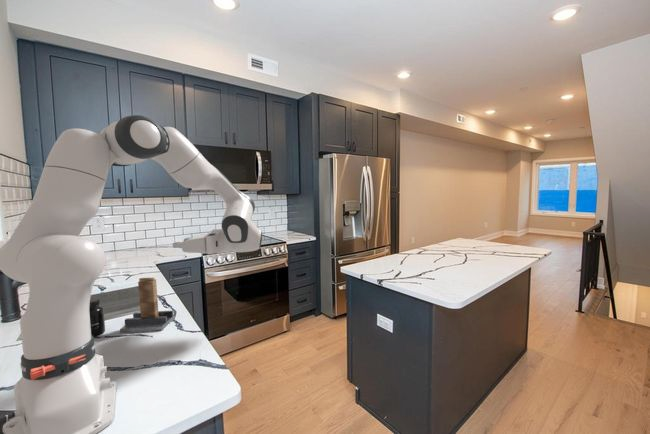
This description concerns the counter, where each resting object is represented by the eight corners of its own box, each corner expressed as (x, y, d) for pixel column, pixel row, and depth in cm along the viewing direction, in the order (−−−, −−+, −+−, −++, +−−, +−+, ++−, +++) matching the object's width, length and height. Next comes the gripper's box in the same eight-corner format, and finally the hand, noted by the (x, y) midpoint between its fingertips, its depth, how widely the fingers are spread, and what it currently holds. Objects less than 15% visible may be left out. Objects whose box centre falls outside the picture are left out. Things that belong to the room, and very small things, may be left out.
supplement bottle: (91, 340, 95) (88, 305, 94) (74, 338, 96) (71, 303, 96) (110, 330, 102) (107, 297, 101) (94, 329, 103) (92, 296, 102)
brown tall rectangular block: (158, 318, 107) (155, 276, 106) (155, 321, 105) (152, 278, 104) (144, 319, 107) (141, 277, 106) (141, 322, 105) (137, 279, 103)
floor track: (174, 318, 111) (174, 309, 110) (162, 330, 101) (161, 320, 100) (136, 320, 110) (136, 311, 109) (120, 333, 100) (119, 323, 99)
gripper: (225, 229, 116) (189, 230, 115) (209, 236, 96) (165, 238, 95) (225, 244, 117) (190, 246, 115) (210, 255, 96) (167, 257, 95)
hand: (179, 242), depth 105 cm, fingers open, 8 cm apart
